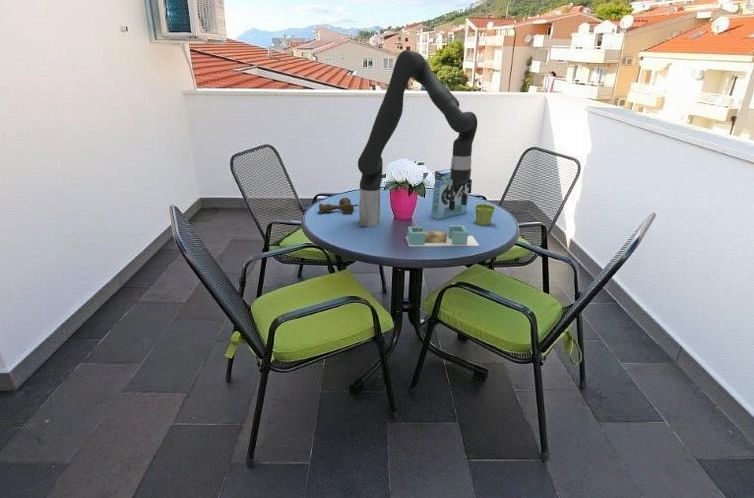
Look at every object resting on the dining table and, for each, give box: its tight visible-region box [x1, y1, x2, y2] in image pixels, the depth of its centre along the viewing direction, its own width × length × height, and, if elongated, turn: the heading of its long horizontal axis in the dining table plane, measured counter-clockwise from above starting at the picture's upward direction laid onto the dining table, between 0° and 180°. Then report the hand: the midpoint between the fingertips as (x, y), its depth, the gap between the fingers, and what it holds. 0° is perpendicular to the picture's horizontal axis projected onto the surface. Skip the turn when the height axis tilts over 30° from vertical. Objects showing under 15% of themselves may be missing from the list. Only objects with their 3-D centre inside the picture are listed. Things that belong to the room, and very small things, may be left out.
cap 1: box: [407, 226, 426, 245], centre depth 171 cm, size 6×8×5 cm
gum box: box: [430, 168, 472, 220], centre depth 200 cm, size 20×5×23 cm, turn 123°
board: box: [405, 235, 480, 247], centre depth 173 cm, size 29×10×1 cm, turn 94°
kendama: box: [318, 197, 359, 215], centre depth 205 cm, size 6×10×20 cm
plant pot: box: [474, 203, 496, 226], centre depth 192 cm, size 9×9×9 cm
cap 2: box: [447, 224, 469, 244], centre depth 172 cm, size 6×8×5 cm
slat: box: [424, 230, 448, 243], centre depth 171 cm, size 13×4×4 cm, turn 94°
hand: (457, 207), depth 165 cm, fingers open, 8 cm apart
